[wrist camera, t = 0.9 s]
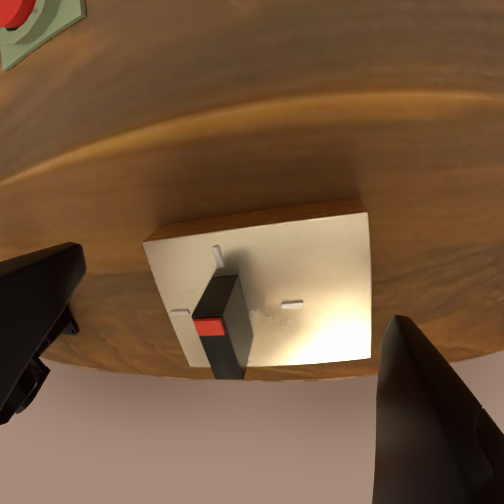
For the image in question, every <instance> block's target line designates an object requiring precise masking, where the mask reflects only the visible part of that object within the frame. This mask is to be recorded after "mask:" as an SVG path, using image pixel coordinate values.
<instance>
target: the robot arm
mask: <svg viewBox="0 0 504 504" xmlns="http://www.w3.org/2000/svg"><path fill="white" fill-rule="evenodd" d="M85 273H86V263H85V257H84V252H83V248H82V246H81V245H80V244H78V243H74V242H67V243H64V244H60V245H56V246H53V247H49V248H46V249H42V250H39V251H35V252H32V253H29V254H25V255H22V256H18V257H15V258H12V259H9V260H5V261H2V262H0V425H2V424H5V423H7V422H8V421H9V420H10V418H11V417H12V415H13V414H14V413H16V414H18V413H20V412H22V411H23V410H24V409H26V407H28V405H29V404H30V403H31V402H32V401H33V399H34V398H35V396H36V395H37V393H38V391H39V389H40V388H41V386H42V384H43V382H44V381H45V379H46V377H47V375H48V374H49V372H50V369H49V368H48V367H46V366H45V365H44V364H43V362H42V361H41V360H40V359H39V357H40V356H41V355H42V354H43V353H44V352H45V350H46V349H47V348H48V347H49V346H50V345H51V344H52V343H53V342H54V341H55V340H56V338H57V337H58V336H59V335H60V334H68V335H76V334H77V333H78V332H79V330H78V328H77V326H76V324H75V322H74V320H73V319H72V317H71V315H70V313H69V311H68V309H67V307H66V305H67V304H68V302H69V300H70V299H71V297H72V295H73V294H74V292H75V290H76V289H77V287H78V285H79V284H80V282H81V280H82V279H83V277H84V276H85ZM372 504H504V434H503V433H502V432H501V430H500V429H499V428H498V426H497V425H496V424H495V422H494V421H493V420H492V419H491V417H490V416H489V415H488V413H487V412H486V411H485V409H482V405H481V404H480V403H479V402H478V400H477V399H476V397H475V396H474V395H473V394H472V392H471V391H470V390H469V388H468V387H467V386H466V385H465V383H464V382H463V381H462V380H461V378H460V377H459V376H458V375H457V373H456V372H455V371H454V370H453V368H452V367H451V366H450V365H449V363H448V362H447V361H446V360H445V359H444V357H443V356H442V355H441V354H440V353H439V351H438V350H437V349H436V348H435V347H434V345H433V344H432V343H431V342H430V341H429V339H428V338H427V337H426V336H425V335H424V334H423V332H422V331H421V330H420V329H419V328H418V327H417V326H416V324H415V323H414V322H413V321H412V320H411V319H410V318H409V317H407V316H402V315H394V316H393V317H392V319H391V321H390V323H389V325H388V327H387V329H386V332H385V334H384V336H383V338H382V341H381V347H380V362H379V374H378V384H377V395H376V452H375V473H374V487H373V499H372Z"/></svg>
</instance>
